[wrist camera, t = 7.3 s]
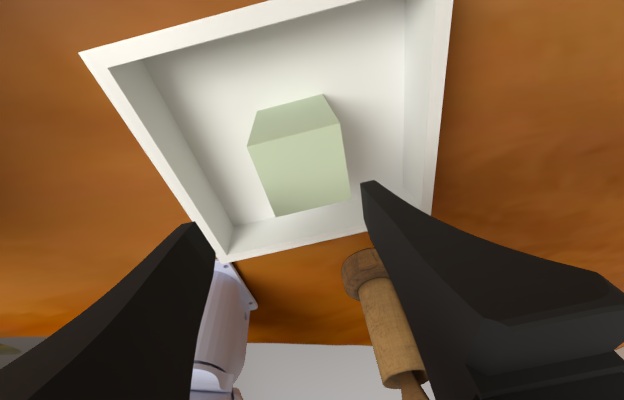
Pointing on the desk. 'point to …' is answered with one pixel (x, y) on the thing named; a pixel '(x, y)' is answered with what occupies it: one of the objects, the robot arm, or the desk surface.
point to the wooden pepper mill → (385, 324)
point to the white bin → (276, 91)
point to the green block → (299, 155)
